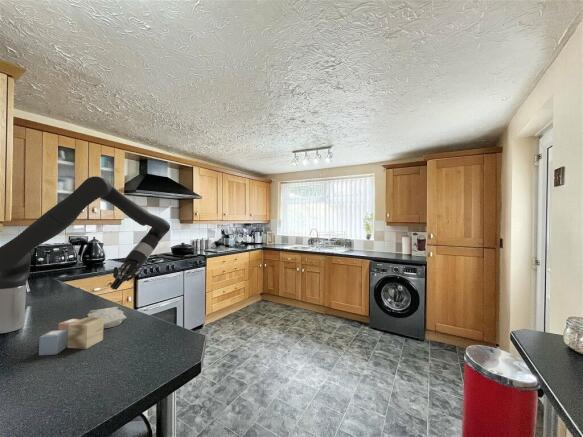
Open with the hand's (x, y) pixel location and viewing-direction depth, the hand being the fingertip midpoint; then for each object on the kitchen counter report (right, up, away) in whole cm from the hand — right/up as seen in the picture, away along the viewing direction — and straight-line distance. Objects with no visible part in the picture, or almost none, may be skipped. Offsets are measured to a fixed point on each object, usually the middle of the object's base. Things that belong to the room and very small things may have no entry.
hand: (113, 288), depth 100 cm
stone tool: (-12, -18, +13) cm, 25 cm away
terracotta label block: (-12, -17, -6) cm, 22 cm away
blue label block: (-9, -17, -16) cm, 25 cm away
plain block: (-3, -17, -10) cm, 20 cm away
